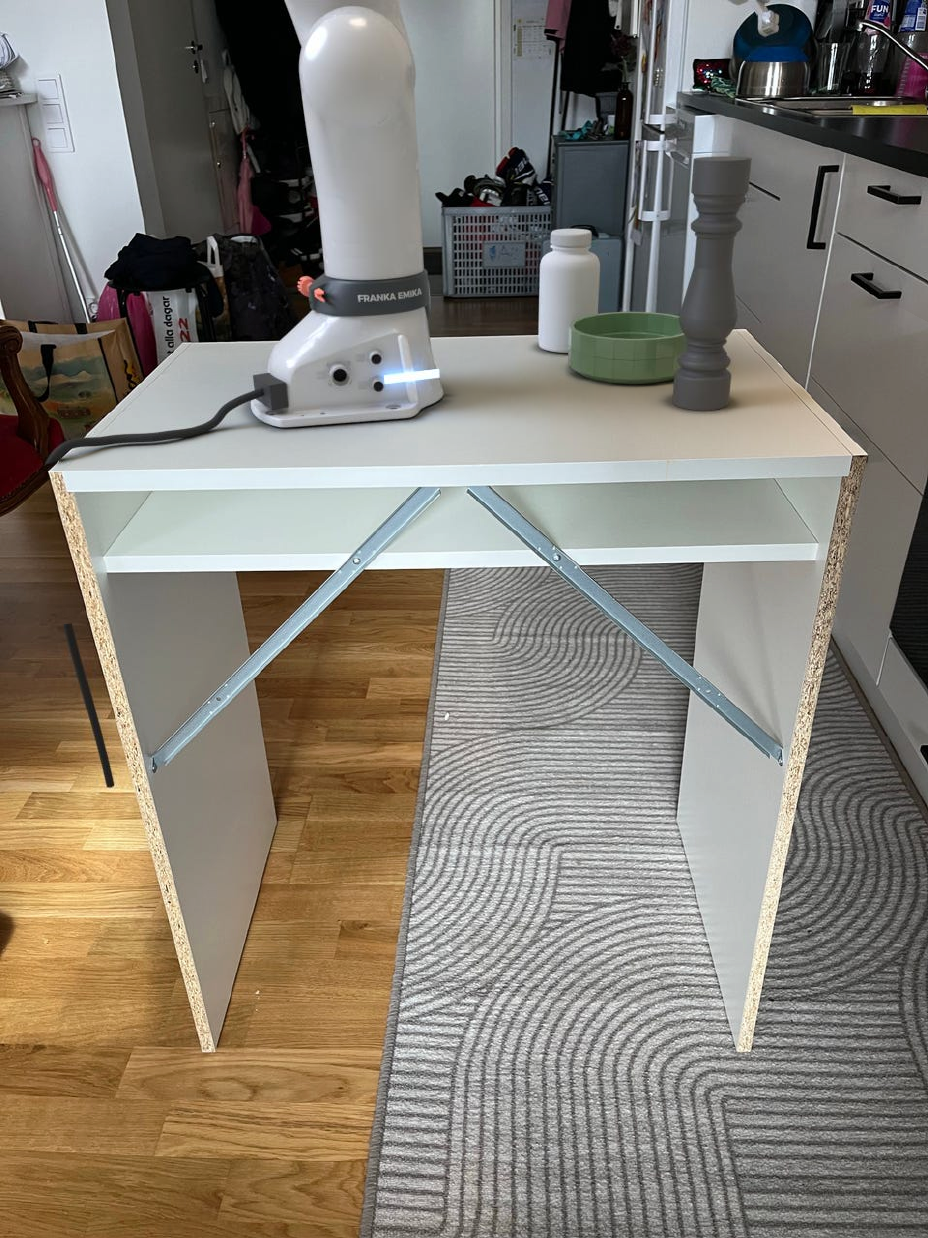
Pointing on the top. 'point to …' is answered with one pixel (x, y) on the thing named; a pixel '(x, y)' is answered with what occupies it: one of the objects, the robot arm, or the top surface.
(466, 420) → the top surface
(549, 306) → the pill bottle
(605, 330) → the bowl
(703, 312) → the candle holder
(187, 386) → the top surface
